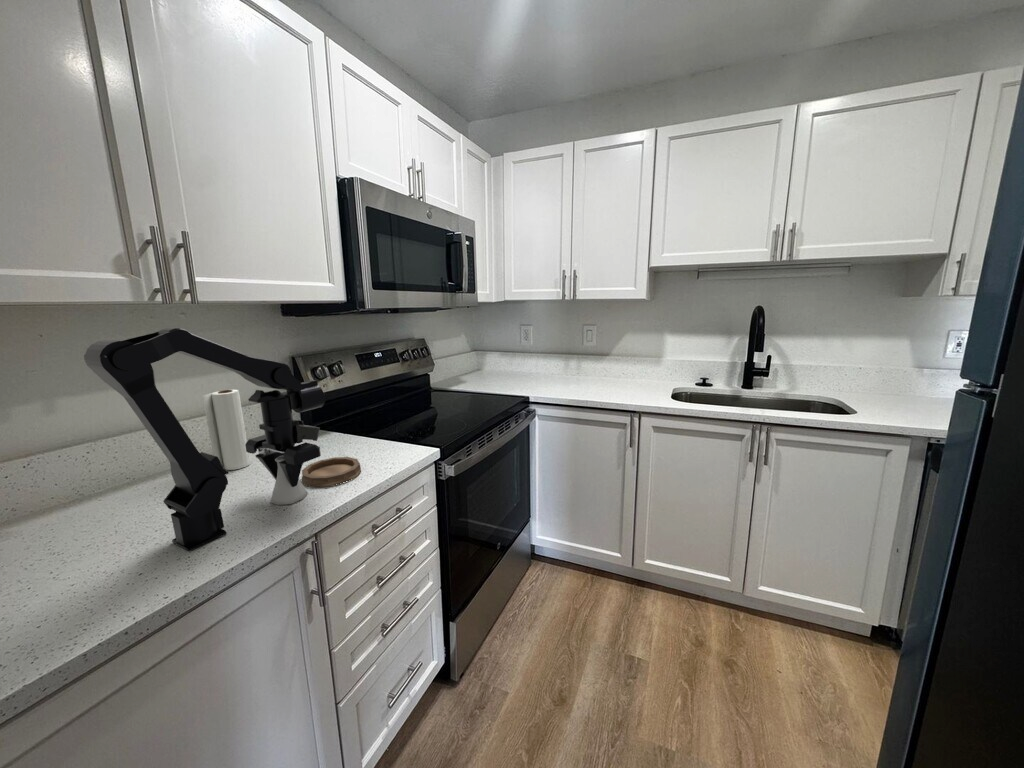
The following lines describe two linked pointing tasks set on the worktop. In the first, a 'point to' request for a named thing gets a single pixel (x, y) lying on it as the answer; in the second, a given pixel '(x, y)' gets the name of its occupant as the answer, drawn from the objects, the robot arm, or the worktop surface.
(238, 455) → the paper towel roll
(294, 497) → the flask
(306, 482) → the walnut collar
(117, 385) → the robot arm
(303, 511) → the worktop surface
